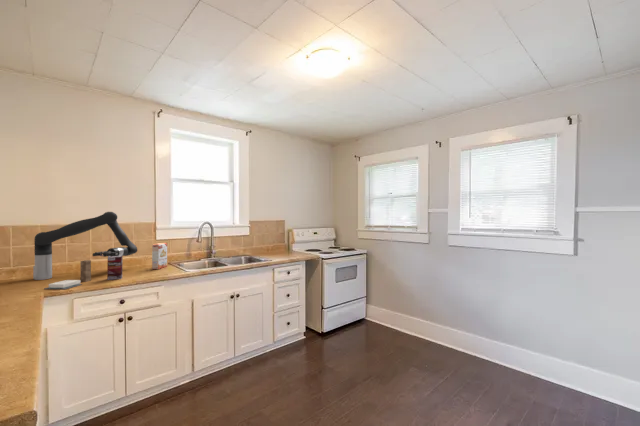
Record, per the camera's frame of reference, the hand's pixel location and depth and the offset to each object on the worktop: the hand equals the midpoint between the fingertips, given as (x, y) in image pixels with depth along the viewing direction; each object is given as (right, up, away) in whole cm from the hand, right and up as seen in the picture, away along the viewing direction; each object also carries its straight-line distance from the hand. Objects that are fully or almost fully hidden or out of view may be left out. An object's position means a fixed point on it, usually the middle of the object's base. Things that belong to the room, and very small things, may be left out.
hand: (98, 255), depth 221 cm
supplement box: (+16, -16, -6) cm, 24 cm away
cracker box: (+26, -16, +36) cm, 47 cm away
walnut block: (0, -16, -13) cm, 21 cm away
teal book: (0, -15, -22) cm, 27 cm away
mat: (-1, -16, -29) cm, 33 cm away
